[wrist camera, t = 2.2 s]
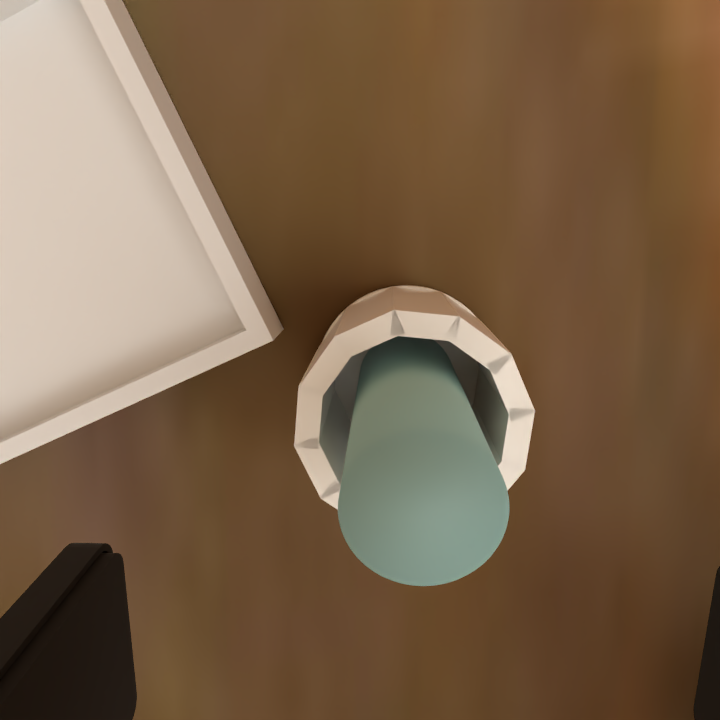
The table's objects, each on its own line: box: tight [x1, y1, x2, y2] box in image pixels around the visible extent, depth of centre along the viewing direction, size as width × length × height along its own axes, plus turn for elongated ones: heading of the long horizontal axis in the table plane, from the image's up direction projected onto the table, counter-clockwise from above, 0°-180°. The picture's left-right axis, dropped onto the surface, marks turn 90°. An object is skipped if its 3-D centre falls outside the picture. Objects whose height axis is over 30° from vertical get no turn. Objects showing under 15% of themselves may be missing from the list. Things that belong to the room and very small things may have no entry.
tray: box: [0, 0, 283, 464], centre depth 24 cm, size 16×16×2 cm
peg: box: [338, 336, 509, 586], centre depth 20 cm, size 4×4×12 cm
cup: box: [294, 285, 535, 510], centre depth 23 cm, size 8×8×7 cm
